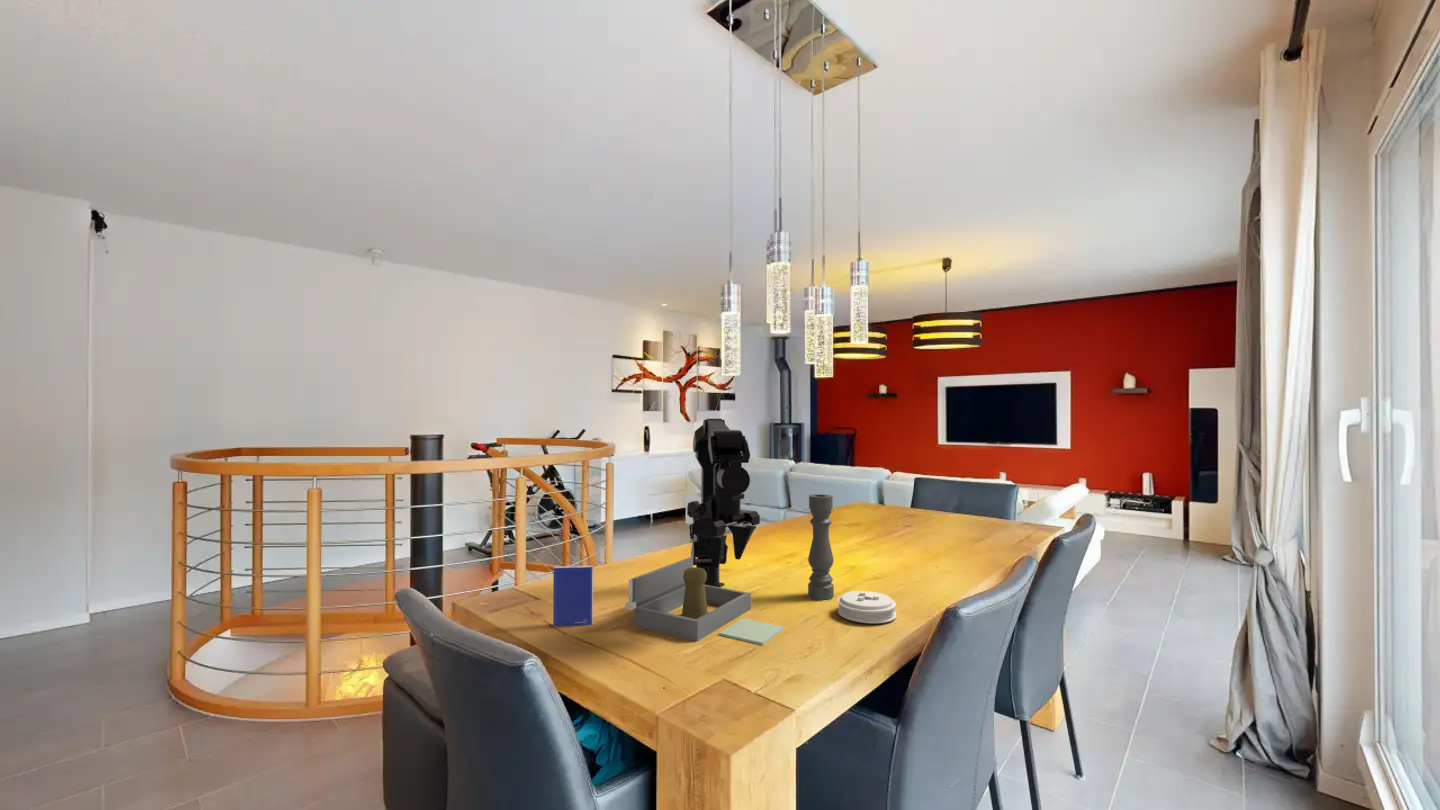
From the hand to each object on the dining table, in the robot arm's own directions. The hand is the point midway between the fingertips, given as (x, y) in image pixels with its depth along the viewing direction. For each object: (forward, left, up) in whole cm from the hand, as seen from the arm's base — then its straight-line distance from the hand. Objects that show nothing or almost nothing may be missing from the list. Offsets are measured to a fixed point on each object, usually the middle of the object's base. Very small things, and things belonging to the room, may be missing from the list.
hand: (727, 563), depth 128 cm
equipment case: (-1, -9, -14) cm, 16 cm away
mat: (0, +6, -14) cm, 15 cm away
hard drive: (+16, -29, -14) cm, 36 cm away
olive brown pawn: (-1, -9, -14) cm, 16 cm away
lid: (-22, +23, -14) cm, 35 cm away
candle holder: (-29, +9, -14) cm, 33 cm away
